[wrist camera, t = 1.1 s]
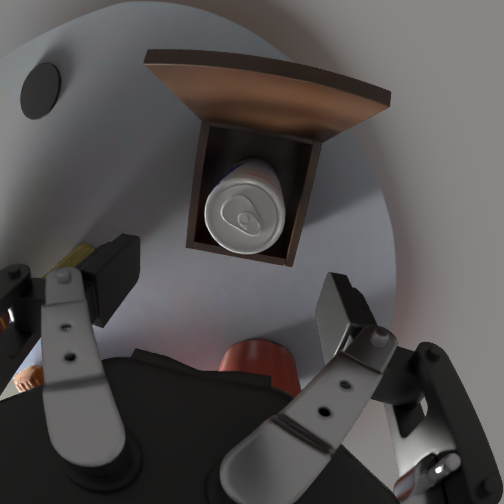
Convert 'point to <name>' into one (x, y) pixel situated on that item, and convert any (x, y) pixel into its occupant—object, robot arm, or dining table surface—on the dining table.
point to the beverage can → (247, 207)
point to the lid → (266, 92)
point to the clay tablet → (29, 378)
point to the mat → (40, 91)
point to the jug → (4, 321)
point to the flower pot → (264, 363)
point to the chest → (223, 160)
